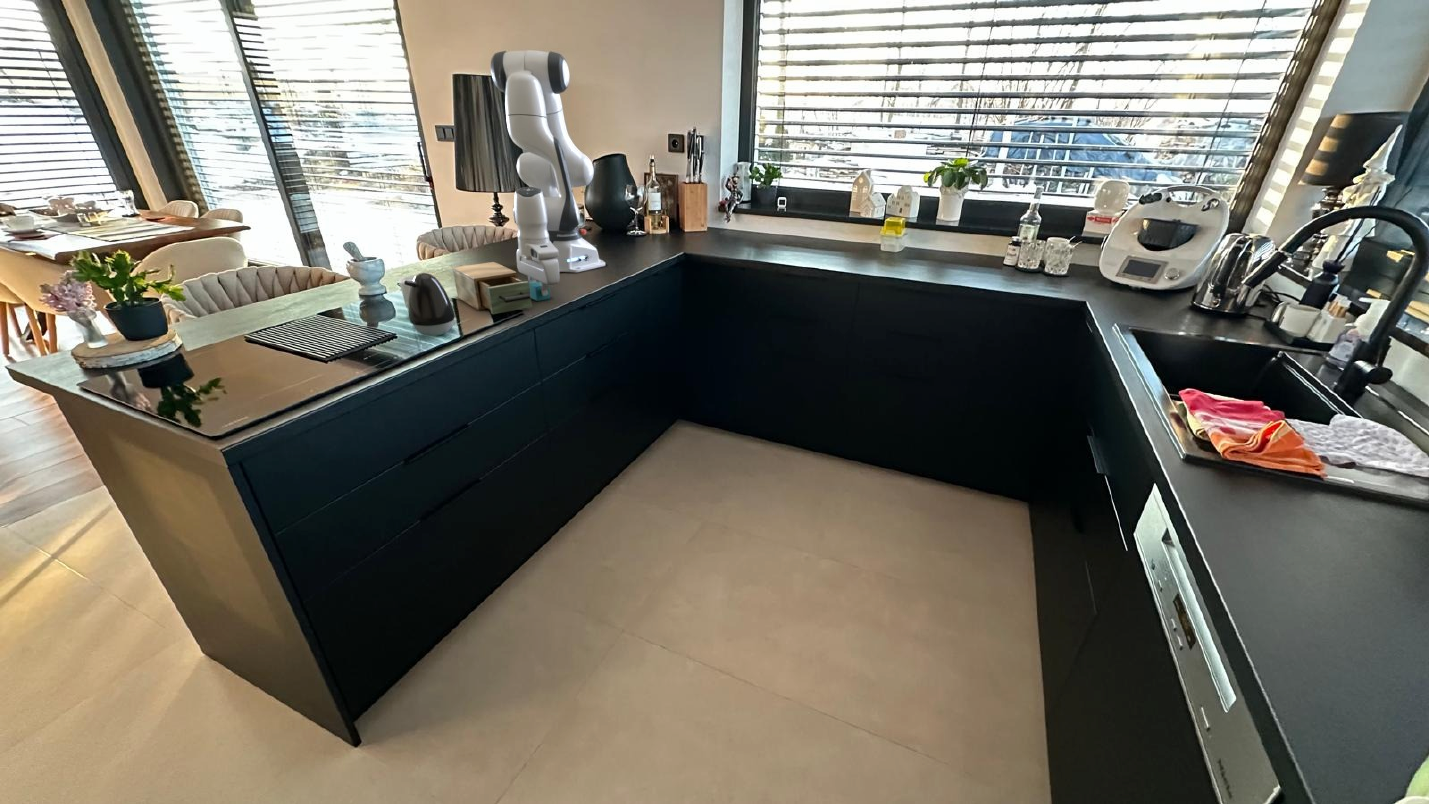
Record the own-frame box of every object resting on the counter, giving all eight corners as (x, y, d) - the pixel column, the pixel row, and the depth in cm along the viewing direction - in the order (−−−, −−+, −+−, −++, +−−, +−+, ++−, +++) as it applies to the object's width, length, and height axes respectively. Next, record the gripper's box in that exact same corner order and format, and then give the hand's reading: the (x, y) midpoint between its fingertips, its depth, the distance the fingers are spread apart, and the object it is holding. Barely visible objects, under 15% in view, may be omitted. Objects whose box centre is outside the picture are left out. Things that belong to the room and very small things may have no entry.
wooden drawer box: (520, 302, 165) (516, 272, 161) (478, 310, 158) (473, 278, 154) (498, 290, 175) (494, 261, 171) (457, 297, 168) (452, 267, 164)
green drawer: (539, 311, 156) (536, 285, 153) (500, 318, 149) (496, 292, 146) (509, 295, 169) (506, 271, 165) (471, 301, 162) (467, 276, 158)
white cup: (432, 309, 157) (425, 274, 152) (443, 316, 152) (436, 280, 147) (402, 315, 152) (394, 279, 147) (413, 322, 147) (404, 285, 142)
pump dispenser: (403, 334, 139) (389, 274, 132) (439, 323, 147) (427, 265, 140) (430, 342, 135) (418, 280, 128) (466, 330, 143) (455, 271, 136)
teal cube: (543, 295, 173) (541, 281, 171) (550, 298, 170) (548, 284, 168) (530, 297, 170) (528, 283, 168) (536, 301, 167) (535, 286, 165)
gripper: (508, 242, 168) (514, 287, 174) (541, 254, 155) (546, 302, 161) (528, 239, 172) (533, 283, 178) (561, 251, 159) (565, 298, 165)
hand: (539, 292), depth 169 cm, fingers closed on teal cube, 4 cm apart
